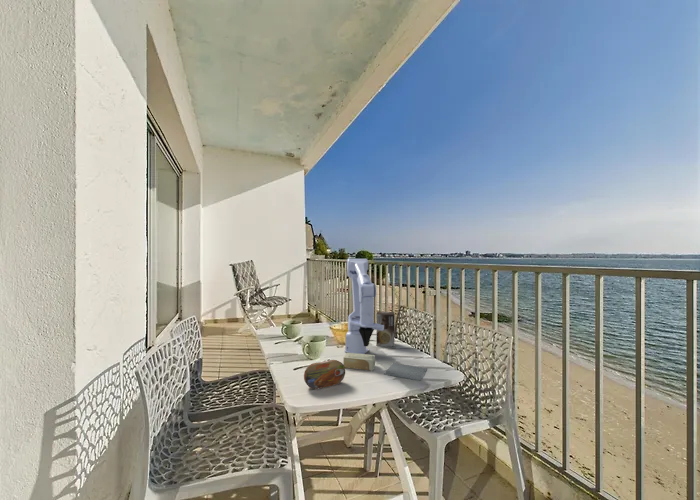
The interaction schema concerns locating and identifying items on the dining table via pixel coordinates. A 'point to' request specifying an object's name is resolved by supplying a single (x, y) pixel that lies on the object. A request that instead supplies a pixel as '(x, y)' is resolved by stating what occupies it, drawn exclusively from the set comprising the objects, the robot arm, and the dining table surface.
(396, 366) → the mat
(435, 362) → the dining table surface
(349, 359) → the skincare box
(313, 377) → the tin
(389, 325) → the coffee box
